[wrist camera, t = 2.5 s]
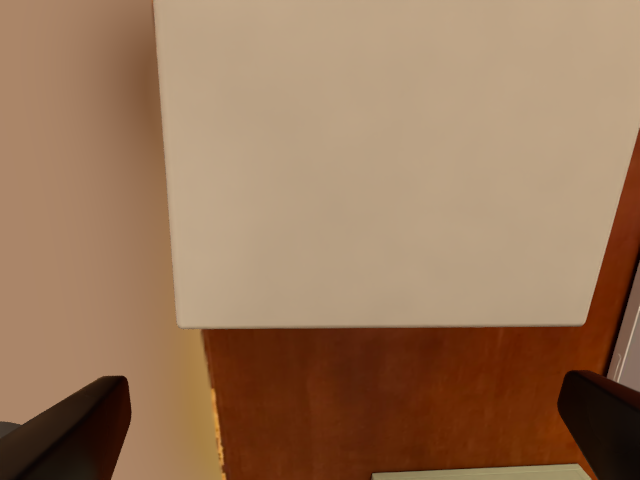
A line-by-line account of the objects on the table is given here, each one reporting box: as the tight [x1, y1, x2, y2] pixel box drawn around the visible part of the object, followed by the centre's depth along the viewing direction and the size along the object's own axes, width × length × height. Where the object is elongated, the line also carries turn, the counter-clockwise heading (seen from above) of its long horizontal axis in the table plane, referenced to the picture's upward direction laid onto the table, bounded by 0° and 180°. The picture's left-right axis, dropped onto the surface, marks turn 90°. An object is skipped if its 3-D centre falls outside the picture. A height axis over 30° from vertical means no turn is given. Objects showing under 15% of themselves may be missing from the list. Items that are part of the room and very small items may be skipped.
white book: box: [153, 0, 640, 329], centre depth 4 cm, size 6×7×1 cm
